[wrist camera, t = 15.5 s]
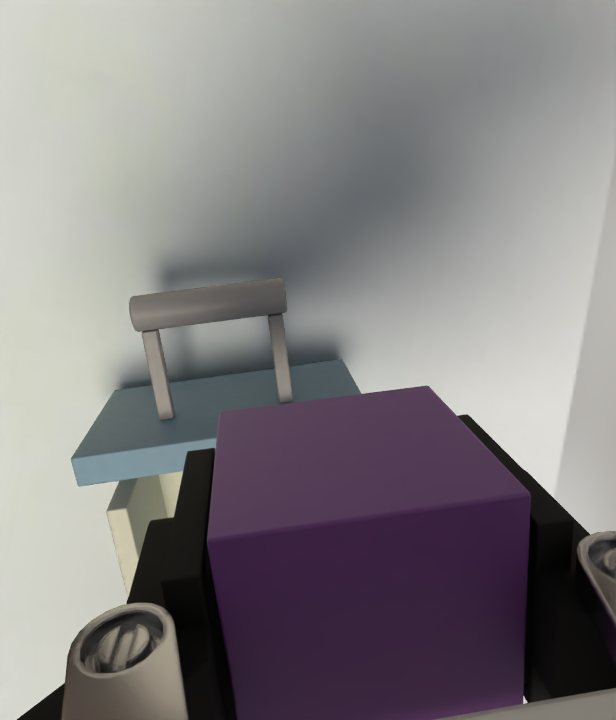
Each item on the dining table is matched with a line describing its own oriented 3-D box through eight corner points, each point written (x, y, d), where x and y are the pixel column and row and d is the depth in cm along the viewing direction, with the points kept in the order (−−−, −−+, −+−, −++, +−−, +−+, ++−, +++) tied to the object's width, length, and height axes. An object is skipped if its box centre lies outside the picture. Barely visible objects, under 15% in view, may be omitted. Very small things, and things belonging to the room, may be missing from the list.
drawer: (90, 285, 26) (33, 322, 19) (332, 255, 27) (363, 280, 20) (165, 611, 32) (142, 730, 25) (362, 579, 32) (394, 686, 25)
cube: (428, 384, 11) (533, 493, 7) (432, 559, 12) (523, 735, 8) (218, 410, 11) (206, 540, 7) (245, 589, 12) (246, 784, 8)
